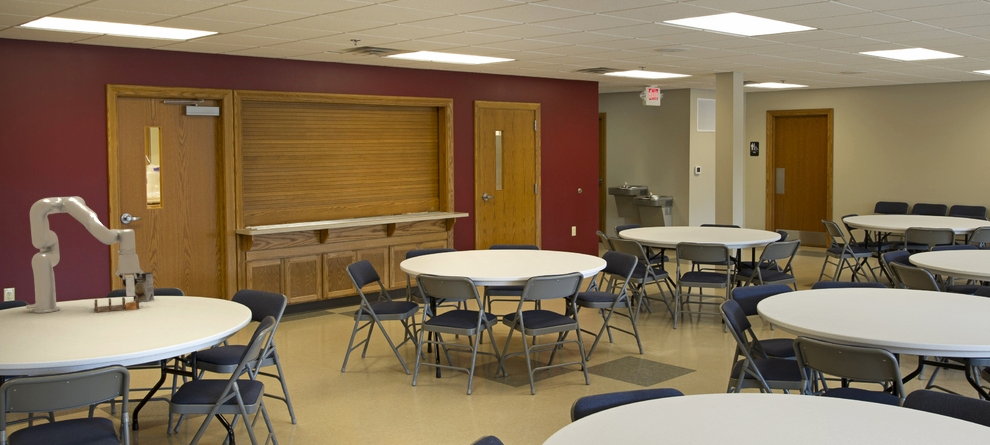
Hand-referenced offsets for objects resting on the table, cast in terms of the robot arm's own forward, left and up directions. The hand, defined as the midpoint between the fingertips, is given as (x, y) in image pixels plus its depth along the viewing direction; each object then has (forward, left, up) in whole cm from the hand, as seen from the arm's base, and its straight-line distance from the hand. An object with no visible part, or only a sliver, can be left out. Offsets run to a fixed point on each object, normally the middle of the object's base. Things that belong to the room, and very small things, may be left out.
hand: (130, 286), depth 448 cm
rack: (-7, 0, -12) cm, 14 cm away
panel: (0, 0, -5) cm, 5 cm away
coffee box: (+7, +21, -12) cm, 25 cm away
